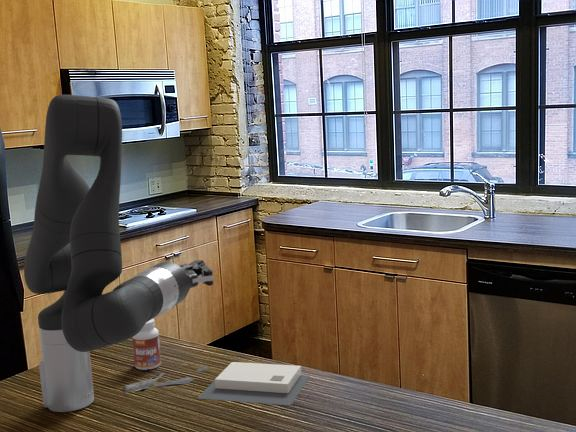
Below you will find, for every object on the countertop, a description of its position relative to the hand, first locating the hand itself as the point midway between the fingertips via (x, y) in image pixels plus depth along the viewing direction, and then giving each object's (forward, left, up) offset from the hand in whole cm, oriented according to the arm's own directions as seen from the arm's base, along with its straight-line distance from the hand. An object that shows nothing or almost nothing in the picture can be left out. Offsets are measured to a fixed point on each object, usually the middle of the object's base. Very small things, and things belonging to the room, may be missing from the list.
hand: (200, 265), depth 125 cm
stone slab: (-17, +16, -31) cm, 39 cm away
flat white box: (+4, +12, -28) cm, 31 cm away
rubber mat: (+4, +14, -30) cm, 33 cm away
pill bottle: (-26, +23, -30) cm, 46 cm away
